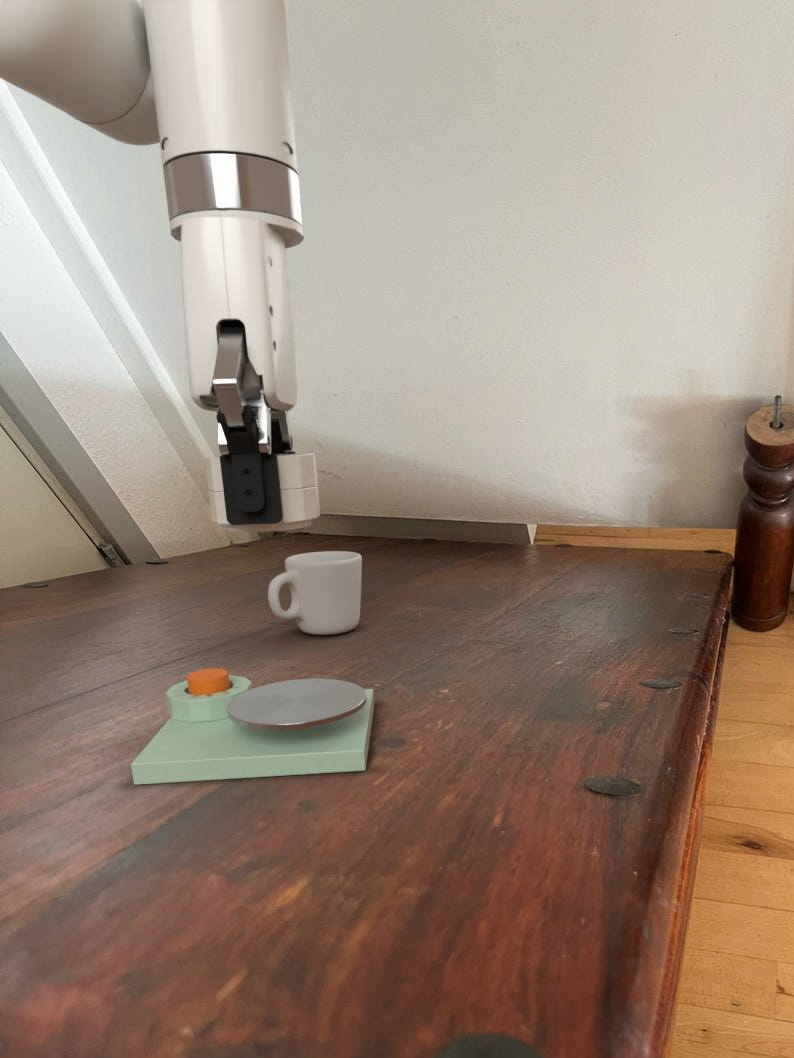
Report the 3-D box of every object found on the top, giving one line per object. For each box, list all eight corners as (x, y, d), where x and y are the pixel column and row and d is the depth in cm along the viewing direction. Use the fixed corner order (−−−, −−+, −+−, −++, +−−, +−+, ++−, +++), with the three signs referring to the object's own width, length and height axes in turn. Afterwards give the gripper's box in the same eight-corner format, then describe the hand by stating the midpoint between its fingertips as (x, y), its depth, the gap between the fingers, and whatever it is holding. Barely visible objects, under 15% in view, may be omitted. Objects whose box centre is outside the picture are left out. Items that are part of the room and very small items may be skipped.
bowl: (202, 535, 46) (193, 458, 45) (227, 523, 53) (220, 455, 52) (313, 530, 47) (307, 455, 46) (325, 519, 53) (319, 452, 52)
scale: (127, 785, 47) (120, 739, 46) (185, 714, 59) (179, 677, 58) (365, 771, 48) (362, 725, 47) (374, 704, 60) (372, 667, 59)
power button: (184, 699, 54) (181, 681, 54) (195, 686, 57) (192, 669, 56) (225, 697, 54) (222, 678, 54) (233, 684, 57) (231, 667, 57)
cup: (297, 650, 76) (289, 569, 73) (253, 637, 81) (245, 562, 79) (381, 628, 83) (377, 554, 81) (336, 618, 88) (331, 548, 86)
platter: (211, 734, 46) (211, 728, 46) (243, 687, 55) (242, 682, 55) (362, 725, 47) (361, 719, 47) (369, 680, 56) (369, 675, 56)
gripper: (207, 246, 53) (236, 507, 58) (115, 159, 36) (166, 536, 41) (317, 245, 54) (337, 503, 58) (276, 159, 37) (309, 531, 42)
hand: (266, 514), depth 50 cm, fingers closed on bowl, 6 cm apart
